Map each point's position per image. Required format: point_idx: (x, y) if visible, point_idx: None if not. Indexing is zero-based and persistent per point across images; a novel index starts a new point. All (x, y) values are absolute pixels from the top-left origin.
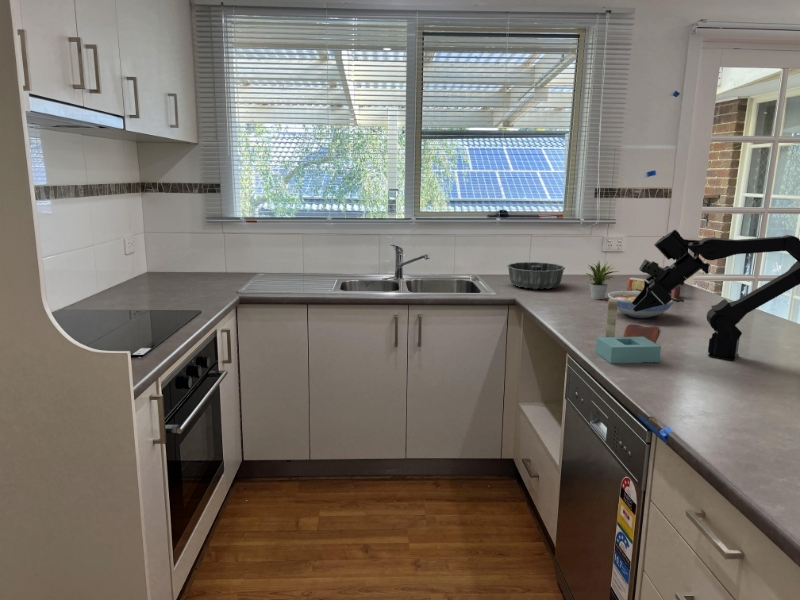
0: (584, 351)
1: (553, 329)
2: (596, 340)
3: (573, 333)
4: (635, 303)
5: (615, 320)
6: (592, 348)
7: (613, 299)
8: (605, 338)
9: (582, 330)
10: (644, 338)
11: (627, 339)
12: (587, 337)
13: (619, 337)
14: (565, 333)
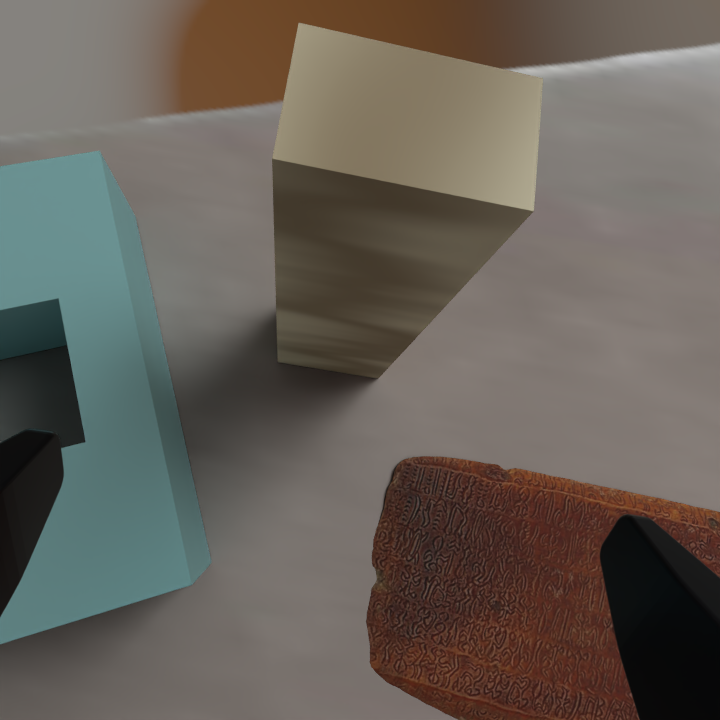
0: (153, 150)
1: (666, 54)
2: (108, 167)
3: (605, 157)
4: (615, 574)
5: (276, 285)
6: (241, 215)
7: (474, 136)
8: (65, 215)
9: (705, 228)
10: (116, 587)
11: (83, 413)
12: (528, 230)
13: (122, 345)
14: (589, 108)
